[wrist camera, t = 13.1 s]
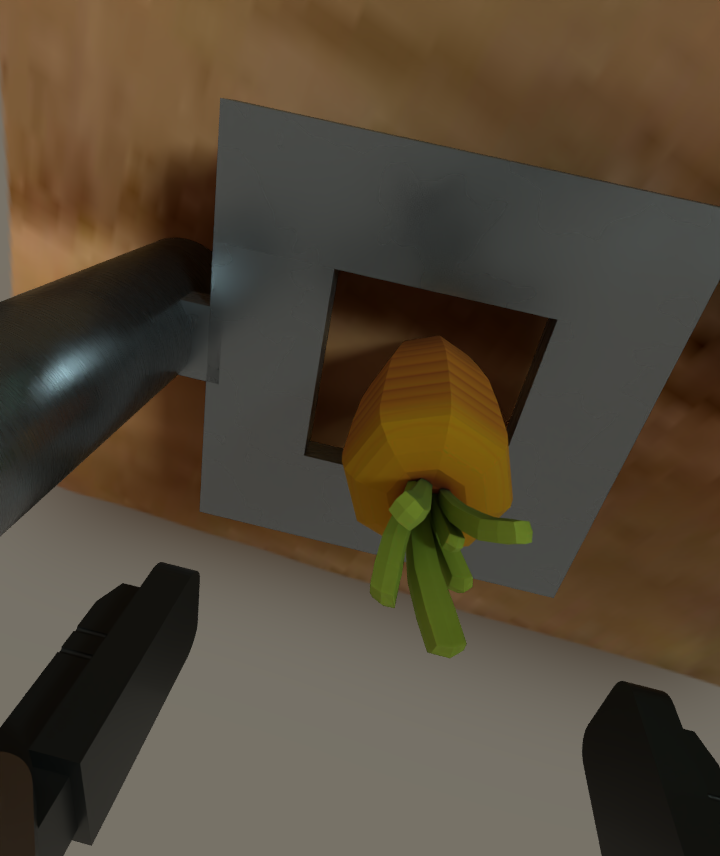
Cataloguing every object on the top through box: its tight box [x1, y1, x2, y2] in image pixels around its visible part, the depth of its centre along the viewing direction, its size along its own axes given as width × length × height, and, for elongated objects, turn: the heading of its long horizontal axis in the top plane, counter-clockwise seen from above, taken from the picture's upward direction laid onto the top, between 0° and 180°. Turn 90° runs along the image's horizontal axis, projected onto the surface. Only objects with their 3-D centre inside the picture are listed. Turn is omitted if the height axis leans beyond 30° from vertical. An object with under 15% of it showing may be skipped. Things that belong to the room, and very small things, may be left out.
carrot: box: [342, 336, 533, 658], centre depth 18 cm, size 5×5×15 cm
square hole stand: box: [0, 98, 720, 598], centre depth 15 cm, size 21×16×22 cm
